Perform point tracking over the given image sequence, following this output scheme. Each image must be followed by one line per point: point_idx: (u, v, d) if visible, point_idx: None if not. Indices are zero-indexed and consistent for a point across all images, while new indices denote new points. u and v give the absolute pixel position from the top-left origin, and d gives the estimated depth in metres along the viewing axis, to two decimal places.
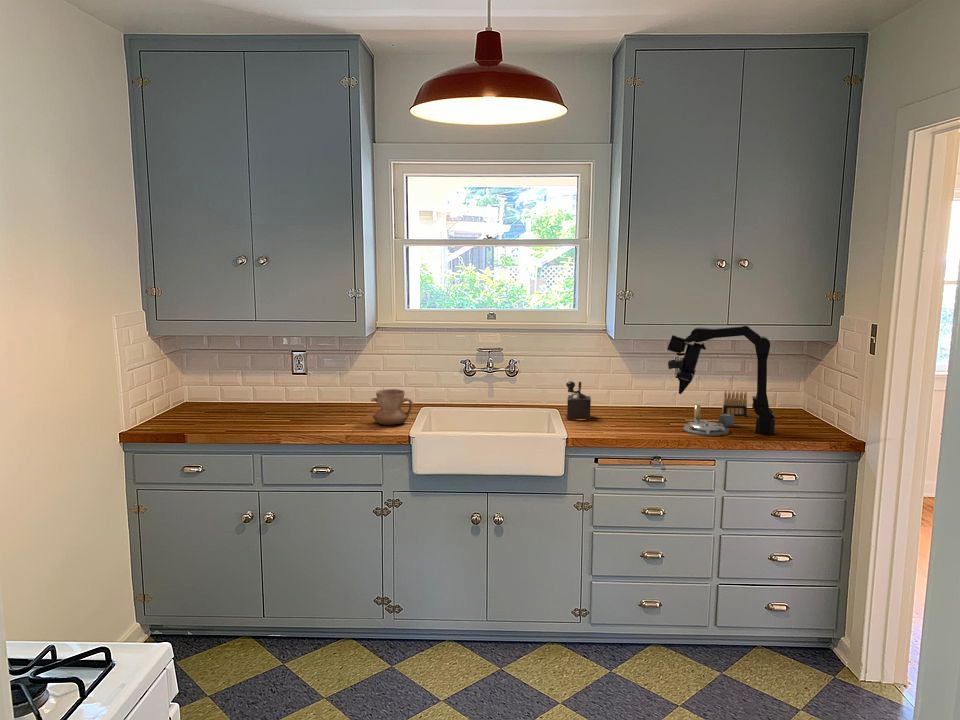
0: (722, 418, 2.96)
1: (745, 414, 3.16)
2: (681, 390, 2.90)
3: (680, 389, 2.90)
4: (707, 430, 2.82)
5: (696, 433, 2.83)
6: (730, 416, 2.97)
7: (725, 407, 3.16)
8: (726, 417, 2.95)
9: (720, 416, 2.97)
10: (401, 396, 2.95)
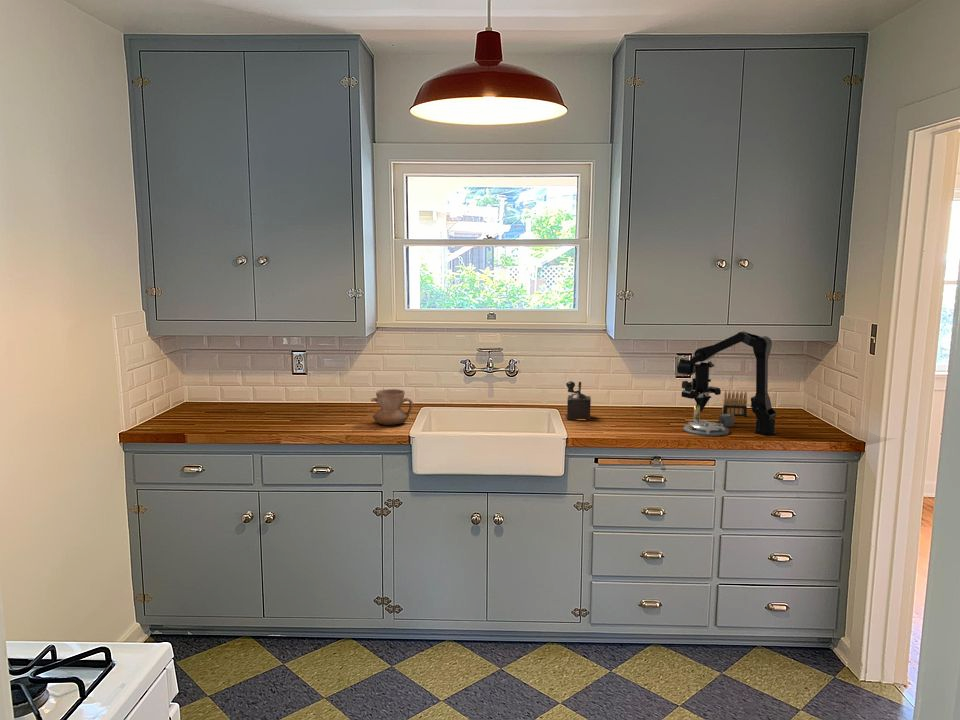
0: (722, 418, 2.96)
1: (745, 414, 3.16)
2: None
3: None
4: (707, 430, 2.82)
5: (696, 433, 2.83)
6: (730, 416, 2.97)
7: (725, 407, 3.16)
8: (726, 417, 2.95)
9: (720, 416, 2.97)
10: (401, 396, 2.95)
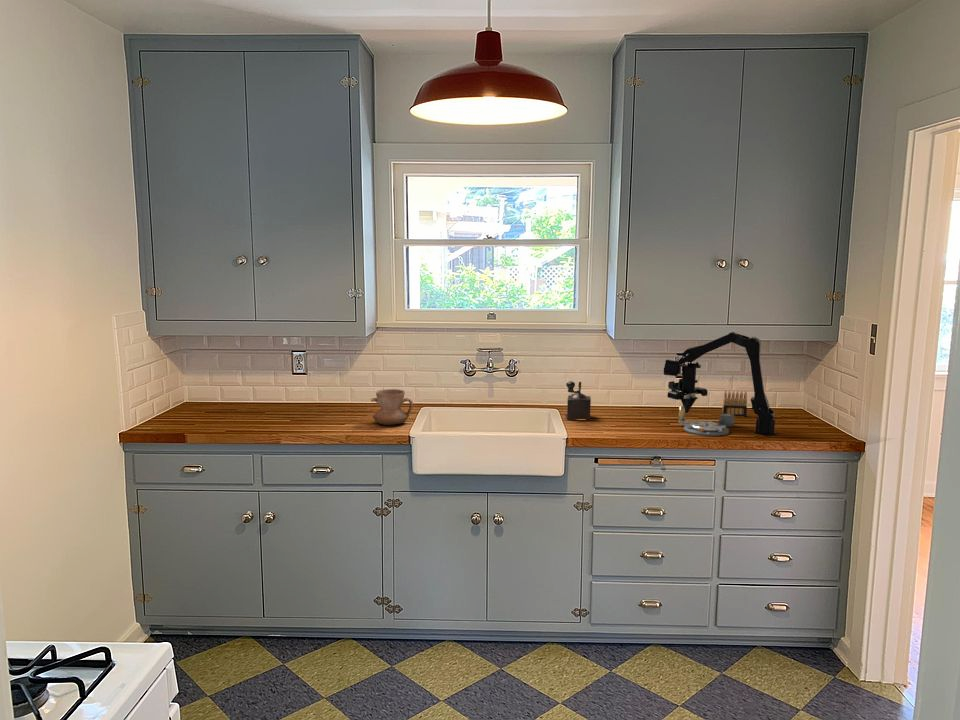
0: (722, 418, 2.96)
1: (745, 414, 3.16)
2: (685, 409, 2.98)
3: None
4: (720, 430, 2.82)
5: (696, 433, 2.83)
6: (730, 416, 2.97)
7: (725, 407, 3.16)
8: (726, 417, 2.95)
9: (720, 416, 2.97)
10: (401, 396, 2.95)
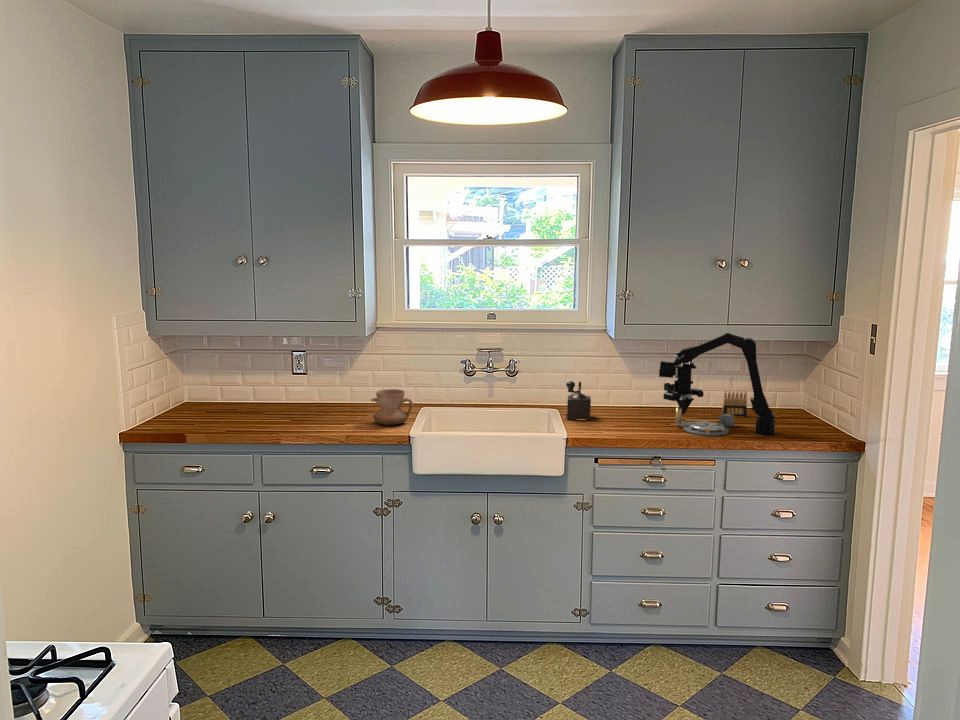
0: (722, 418, 2.96)
1: (745, 414, 3.16)
2: (682, 411, 2.95)
3: None
4: (723, 429, 2.84)
5: (696, 433, 2.83)
6: (730, 416, 2.97)
7: (725, 407, 3.16)
8: (726, 417, 2.95)
9: (720, 416, 2.97)
10: (401, 396, 2.95)
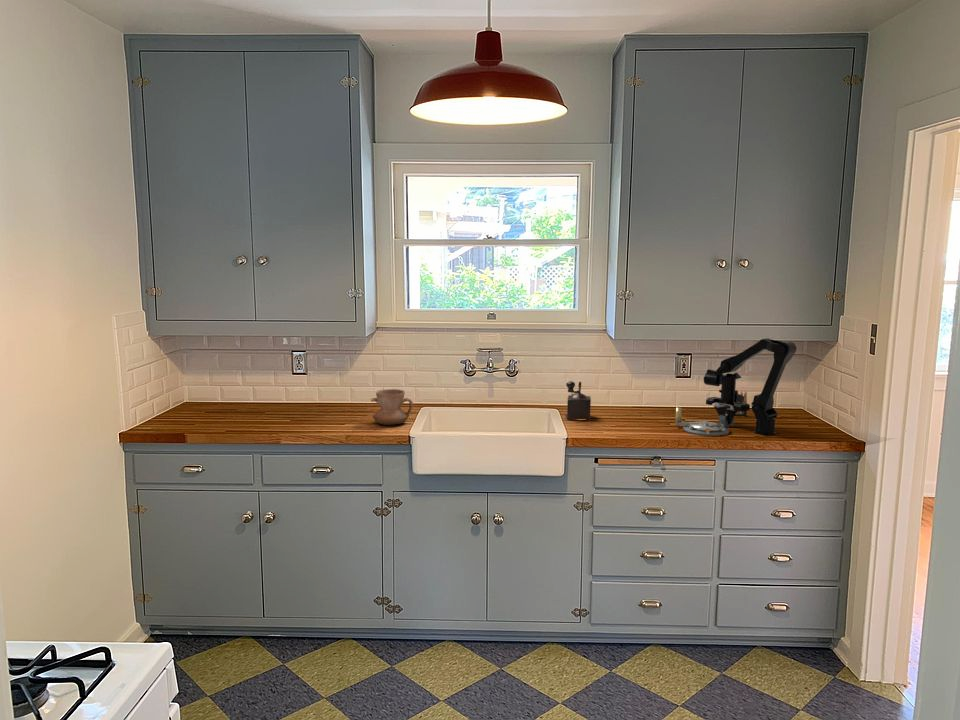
0: (722, 418, 2.96)
1: (745, 414, 3.16)
2: None
3: None
4: (723, 429, 2.84)
5: (696, 433, 2.83)
6: None
7: None
8: (726, 417, 2.95)
9: (720, 416, 2.97)
10: (401, 396, 2.95)
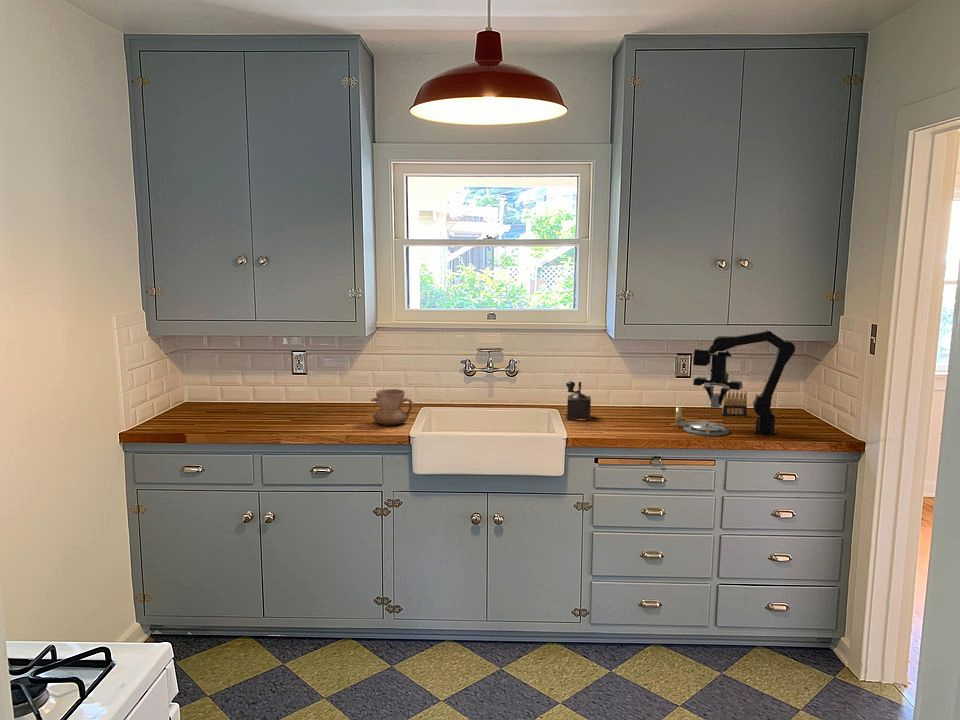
0: (715, 398, 2.87)
1: (745, 414, 3.16)
2: None
3: None
4: (723, 429, 2.84)
5: (696, 433, 2.83)
6: None
7: (725, 407, 3.16)
8: (719, 397, 2.87)
9: (712, 396, 2.87)
10: (401, 396, 2.95)
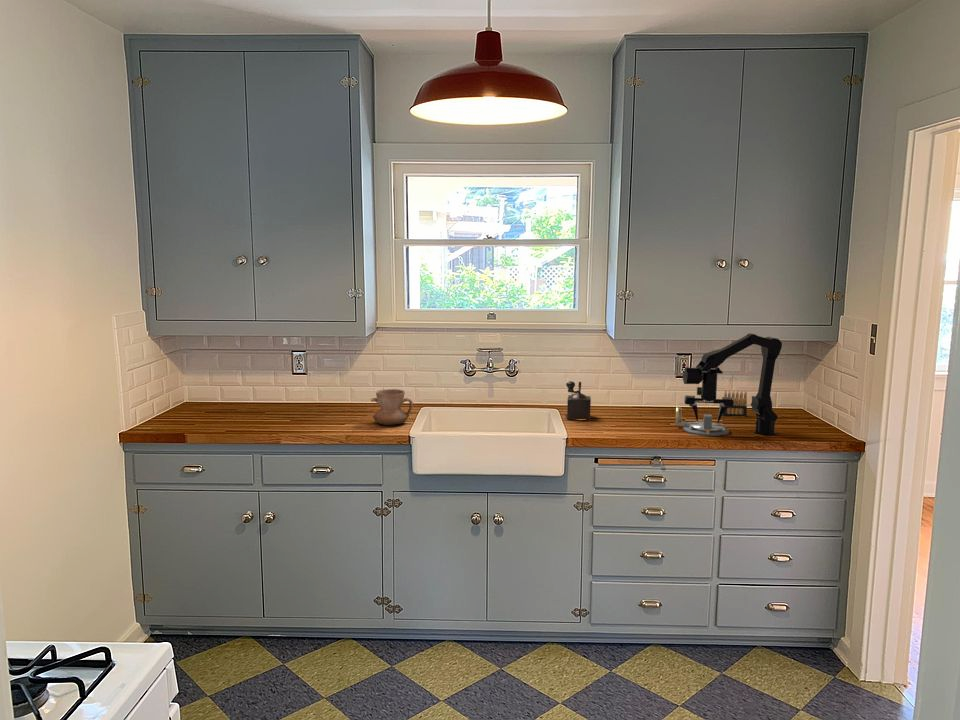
0: (708, 420, 2.81)
1: (745, 414, 3.16)
2: None
3: (695, 416, 2.86)
4: (723, 429, 2.84)
5: (696, 433, 2.83)
6: (711, 416, 2.84)
7: None
8: None
9: (706, 418, 2.82)
10: (401, 396, 2.95)
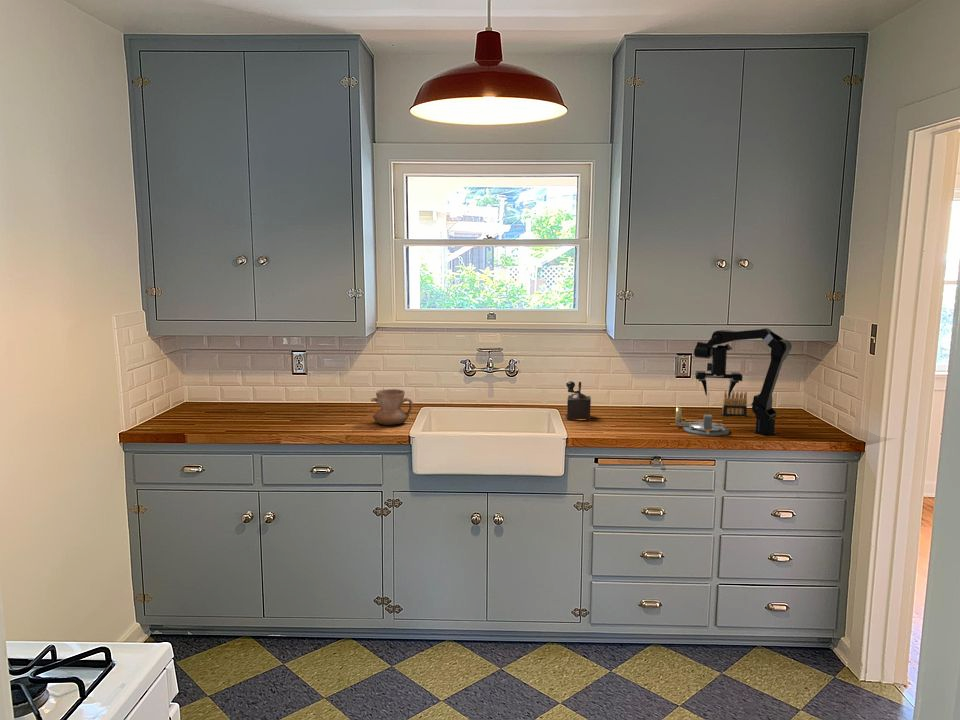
0: (708, 420, 2.81)
1: (745, 414, 3.16)
2: None
3: (704, 390, 2.99)
4: (723, 429, 2.84)
5: (696, 433, 2.83)
6: (711, 416, 2.84)
7: (725, 407, 3.16)
8: None
9: (706, 418, 2.82)
10: (401, 396, 2.95)
